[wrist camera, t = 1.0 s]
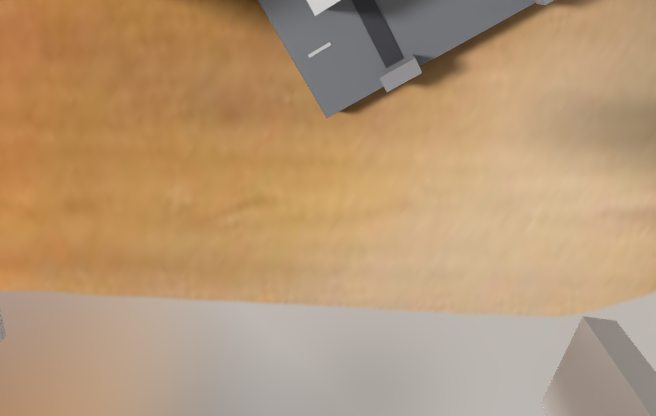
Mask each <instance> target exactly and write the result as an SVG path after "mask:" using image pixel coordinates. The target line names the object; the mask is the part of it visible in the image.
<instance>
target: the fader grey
mask: <svg viewBox="0 0 656 416" xmlns="http://www.w3.org/2000/svg"><path fill="white" fill-rule="evenodd" d="M339 1H340V0H307V2H308V4H309V6H310V8H311V9H312V11H313V13H314V15H315V16H316V15H318V14H319V13H321V12H322V11H324V10H326V9H327V8H329V7H331V6H332V5H334V4H335V3H337V2H339Z"/></svg>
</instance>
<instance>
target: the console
mask: <svg viewBox="0 0 656 416" xmlns="http://www.w3.org/2000/svg"><path fill="white" fill-rule="evenodd" d="M258 1H259V3H260V5H261V7H262V8H263V10H264V12H265V13H266V15H267V17H268V19H269V20H270V22H271V24H272V25H273V27H274V29H275V31H276V32H277V34H278V36H279V37H280V39H281V41H282V43H283V44H284V46H285V48H286V49H287V51H288V53H289V55H290V56H291V58H292V60H293V61H294V63H295V65H296V67H297V68H298V70H299V72H300V73H301V75H302V77H303V79H304V80H305V82H306V84H307V85H308V87H309V89H310V91H311V92H312V94H313V96H314V97H315V99H316V101H317V103H318V104H319V106H320V108H321V109H322V111H323V113H324V115H325V116H326V118H328V117H330V116H332V115H334V114H335V113H337V112H339V111H341V110H343V109H344V108H346V107H348V106H350V105H352V104H353V103H355V102H357V101H359V100H361V99H362V98H364V97H366V96H368V95H370V94H371V93H373V92H375V91H377V90H379V89H380V88H382V87H384V88H385V90H386V92H389V91H390V90H392V89H394V88H396V87H398V86H400V85H401V84H403V83H405V82H407V81H409V80H410V79H412V78H414V77H416V76H418V75H420V74H421V73H422V71H421V69H420V66H422V65H424V64H426V63H427V62H429V61H431V60H433V59H435V58H436V57H438V56H440V55H442V54H444V53H445V52H447V51H449V50H451V49H453V48H454V47H456V46H458V45H460V44H462V43H463V42H465V41H467V40H469V39H471V38H472V37H474V36H476V35H478V34H480V33H482V32H483V31H485V30H487V29H489V28H491V27H492V26H494V25H496V24H498V23H500V22H501V21H503V20H505V19H507V18H509V17H510V16H512V15H514V14H516V13H518V12H519V11H521V10H523V9H525V8H527V7H528V6H530V5H532V4H534V3H536V4H540V5H547V4H549V3H550V2H552V1H554V0H340V1H339V2H337V3H335V4H334V5H332V6H331V7H329V8H327V9H326V10H324V11H322V12H321V13H319V14H318V15H316V16H315V15H314V13H313V11H312V9H311V8H310V6H309V4H308V2H307V0H258Z"/></svg>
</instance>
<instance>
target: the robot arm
mask: <svg viewBox="0 0 656 416" xmlns="http://www.w3.org/2000/svg"><path fill="white" fill-rule="evenodd" d="M5 336H6V334H5V329H4V325H3V320H2V315H1V311H0V342H1V341H2V339H3V338H4V337H5ZM541 404H542V407H543V409H544V411H545V413H546V415H547V416H656V372H655V371H654V369H653V368H652V367H651V365H650V364H649V363H648V362H647V360H646V359H645V358H644V356H643V355H642V354H641V353H640V351H639V350H638V349H637V347H636V346H635V345H634V343H633V342H632V341H631V340H630V338H629V337H628V336H627V335H626V333H625V332H624V331H623V329H622V328H621V327H620V326H619V324H618V323H617V321H612V320H605V319H598V318H591V317H582V319H581V321H580V323H579V325H578V327H577V329H576V332H575V333H574V336H573V338H572V340H571V342H570V344H569V346H568V348H567V350H566V352H565V354H564V356H563V359H562V360H561V363H560V365H559V367H558V369H557V371H556V373H555V375H554V377H553V379H552V381H551V383H550V386H549V388H548V390H547V392H546V394H545V396H544V398H543V400H542V402H541Z"/></svg>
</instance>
